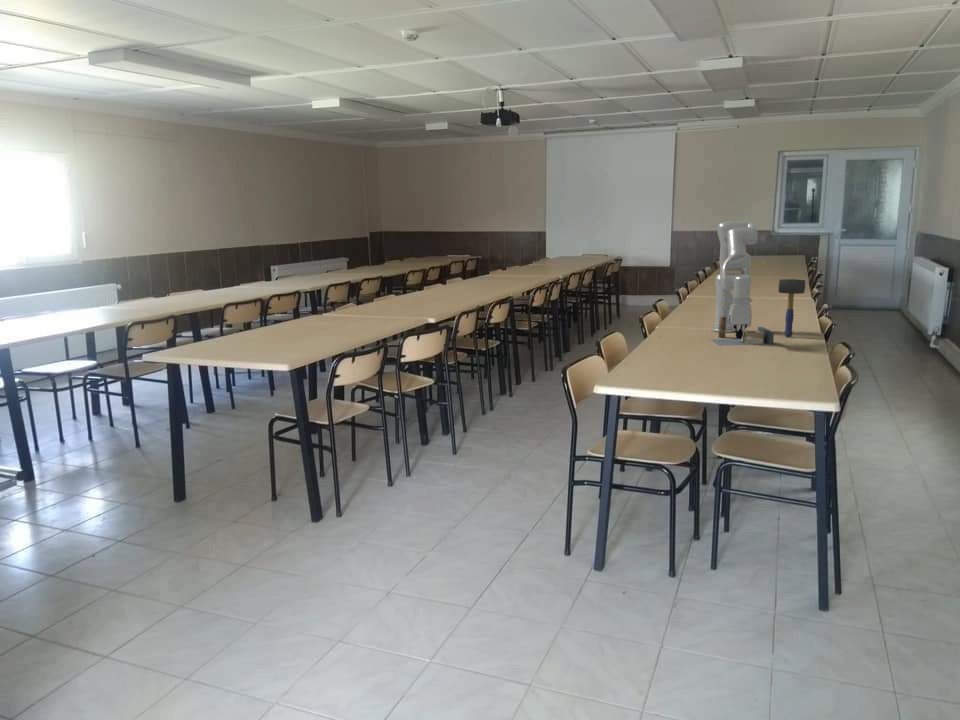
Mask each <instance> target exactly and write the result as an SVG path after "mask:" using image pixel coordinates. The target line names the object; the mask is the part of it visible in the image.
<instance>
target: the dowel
mask: <svg viewBox="0 0 960 720" xmlns="http://www.w3.org/2000/svg"><path fill="white" fill-rule="evenodd" d="M725 330H726V317H720V319H719V332H718V339H719V338H720V339H724V338H725V339H726V332H725Z"/></svg>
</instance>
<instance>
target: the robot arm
mask: <svg viewBox="0 0 960 720" xmlns="http://www.w3.org/2000/svg"><path fill="white" fill-rule="evenodd" d="M717 237H718V240H719V245H720V246H719V247H720V248H719V249H720V251H719V268H720V273H719V274H717V275H716V277H715V281H714V282H715V284H714V285H715V291H716V292H715V293H716V294H715V296H716V297H715V314H714V315H715V316H714V317H715V319H714V326H713V327H712V328H711V331H713V332H715V333H716V332H718V333H719V319H720V317H726V330H725V333H733V332H735V339H742V337H743V331H745V330H746V329H747V328H749V327H750V328H751V327H752V319H753V318H752V317H753V315H752V305H751V303H752V302H753V298H750V297H751V286H752V278H751V269H752V258H751V255H750V254H749V253H748V252H747V250H746V245H754V244H757V241H758V230H757V228H756V226H755V225H754V222H751V221H748V220H747V221H744V220H743V221H732V220H731V221H723V222H720V223H719V224H718V225H717ZM727 271H740V272H727ZM731 292H733V293H731Z"/></svg>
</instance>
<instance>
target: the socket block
mask: <svg viewBox="0 0 960 720" xmlns="http://www.w3.org/2000/svg"><path fill="white" fill-rule="evenodd" d="M763 339H764V333H762V332H760V331H758V329H757V330H754V329H753V330H744V331H743V337H742V339H741V341H743V342H744V343H746V344H757V343H763Z"/></svg>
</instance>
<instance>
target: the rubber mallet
mask: <svg viewBox="0 0 960 720" xmlns="http://www.w3.org/2000/svg"><path fill="white" fill-rule="evenodd" d="M805 290H806V280H805V279H799V278H797V279H796V278H795V279H794V278H791V279H790V278H789V279H788V278H786V279H779V282H778V293H779V294H788V296H787V298H788V299H787V308H786V312H785V326H784V327H785V329H784V333H783V334H784V337H786V338H791V337H792V336H793V323H794V316H795V315H794V297H795V294H797V295H798V294H804V293H805Z"/></svg>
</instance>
